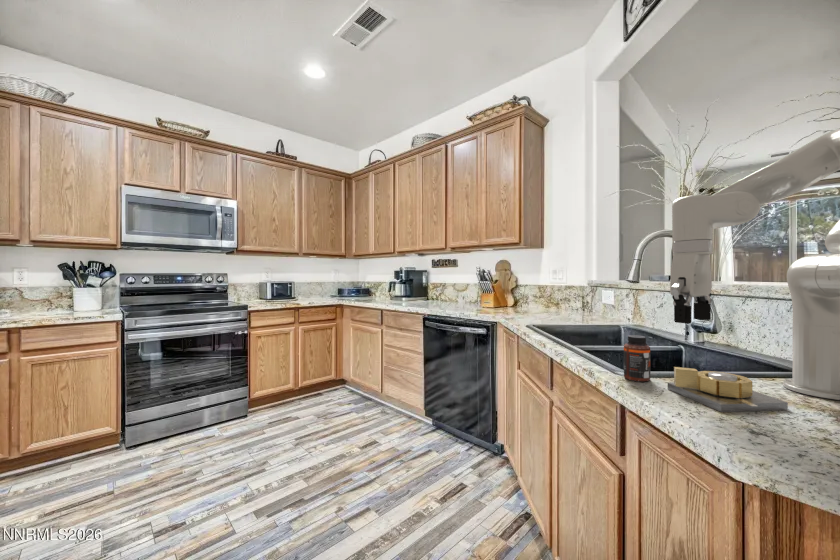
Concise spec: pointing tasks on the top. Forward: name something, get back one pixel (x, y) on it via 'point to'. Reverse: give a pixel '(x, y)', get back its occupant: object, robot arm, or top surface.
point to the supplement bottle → (637, 359)
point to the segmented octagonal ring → (712, 383)
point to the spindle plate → (730, 398)
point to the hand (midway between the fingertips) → (692, 321)
